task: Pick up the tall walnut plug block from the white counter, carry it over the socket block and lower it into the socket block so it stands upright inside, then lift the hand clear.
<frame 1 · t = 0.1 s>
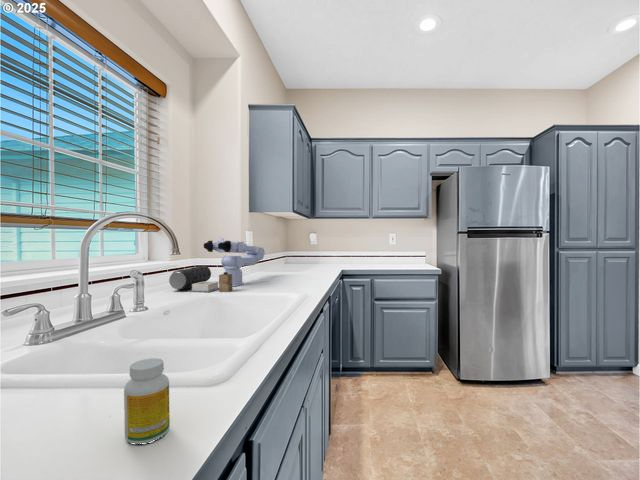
hand: (211, 245, 160), 22 cm above the worktop, tool horizontal, fingers open, 7 cm apart
socket block: (205, 290, 163), on the worktop
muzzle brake: (191, 288, 174), on the worktop
walnut plug: (225, 291, 161), on the worktop
supplement bottle: (148, 435, 45), on the worktop
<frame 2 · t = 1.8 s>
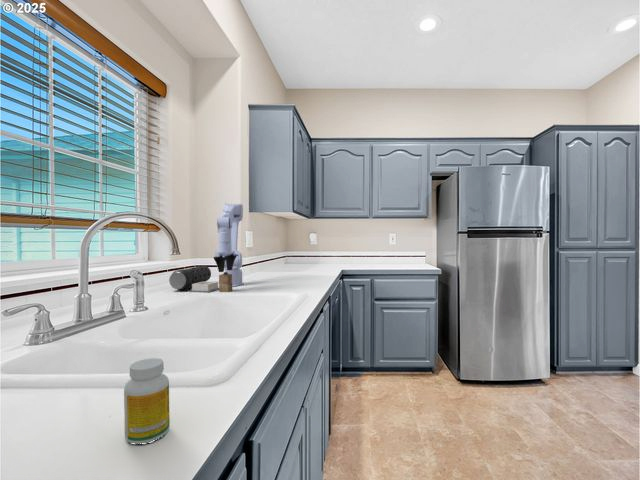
hand: (225, 271, 160), 10 cm above the worktop, tool pointing down, fingers open, 7 cm apart
nothing on the worktop moved.
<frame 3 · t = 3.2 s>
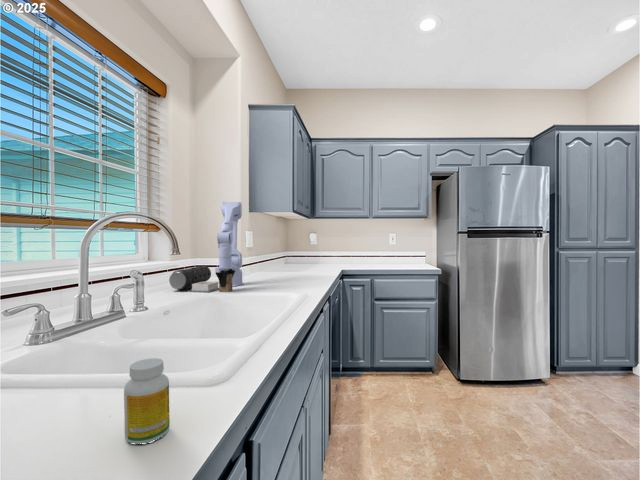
hand: (225, 286, 161), 2 cm above the worktop, tool pointing down, fingers closed on walnut plug, 4 cm apart
walnut plug: (225, 291, 161), on the worktop, touching gripper
everything else where it was.
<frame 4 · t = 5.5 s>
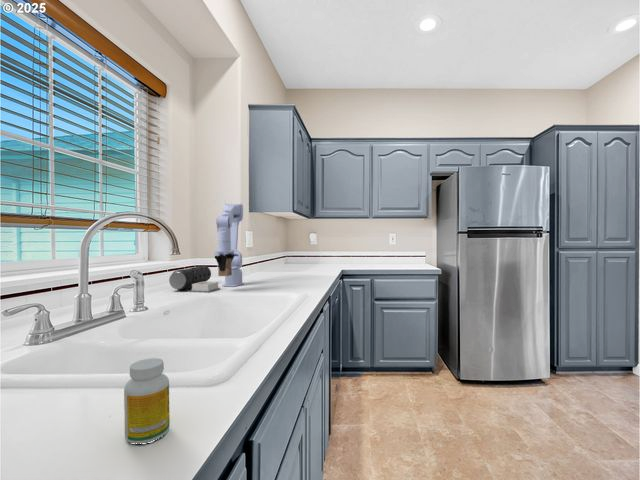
hand: (225, 270, 161), 10 cm above the worktop, tool pointing down, fingers closed on walnut plug, 4 cm apart
walnut plug: (225, 275, 161), point 7 cm above the worktop, touching gripper
everything else where it was.
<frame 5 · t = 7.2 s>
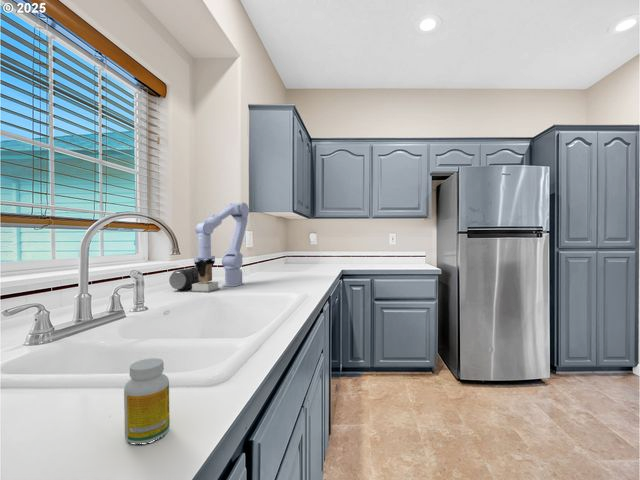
hand: (205, 275, 163), 7 cm above the worktop, tool pointing down, fingers closed on walnut plug, 4 cm apart
walnut plug: (205, 281, 163), point 5 cm above the worktop, touching gripper
everything else where it was.
when the fingers open (4 cm above the worktop, at t = 8.2 s): walnut plug drops 1 cm, resting on socket block.
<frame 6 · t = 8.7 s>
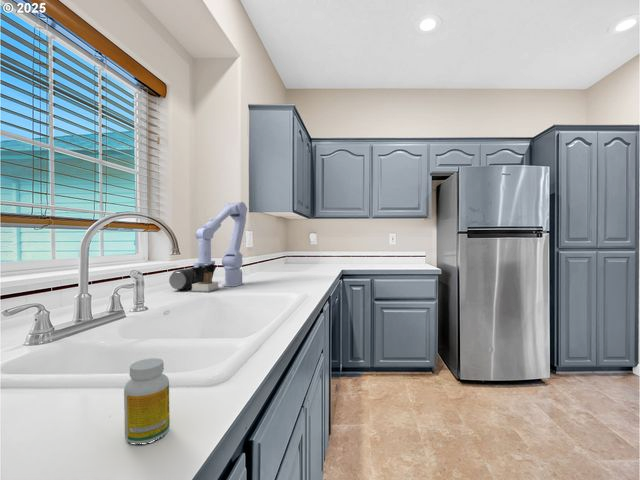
hand: (205, 281, 163), 4 cm above the worktop, tool pointing down, fingers open, 7 cm apart
walnut plug: (205, 289, 163), point 1 cm above the worktop, touching socket block
everything else where it was.
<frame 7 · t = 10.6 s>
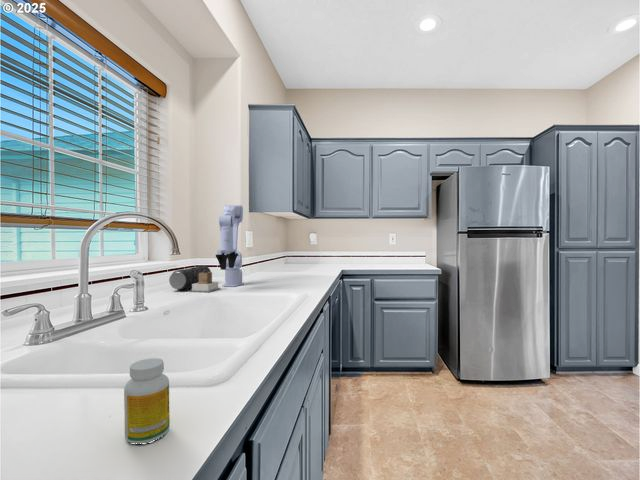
hand: (227, 268, 162), 10 cm above the worktop, tool pointing down, fingers open, 7 cm apart
nothing on the worktop moved.
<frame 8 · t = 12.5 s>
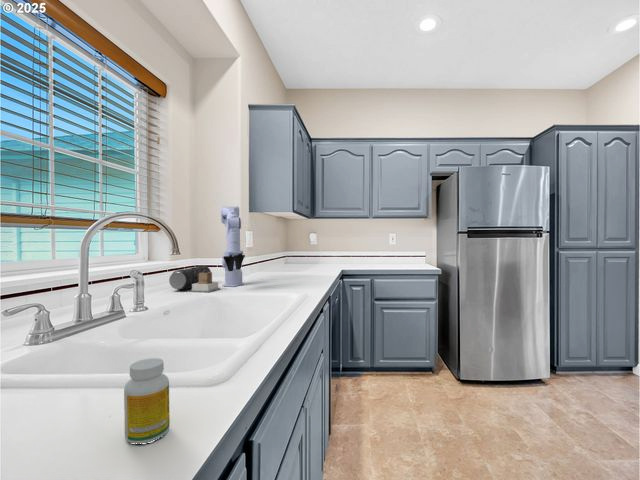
hand: (234, 270, 165), 9 cm above the worktop, tool pointing down, fingers open, 7 cm apart
nothing on the worktop moved.
at the end: walnut plug 0.2 cm off-centre on the socket block, point 0.6 cm above the socket block's base; walnut plug tilted 0°; the gripper is holding nothing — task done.
